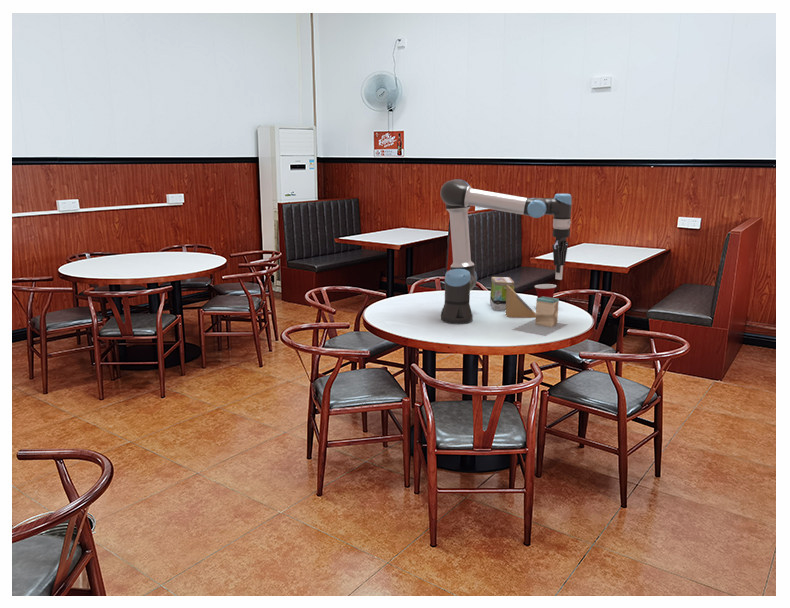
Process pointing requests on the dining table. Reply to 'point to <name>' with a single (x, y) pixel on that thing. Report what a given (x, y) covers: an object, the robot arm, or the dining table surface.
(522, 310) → the sandwich container
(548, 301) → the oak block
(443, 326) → the dining table surface
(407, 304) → the dining table surface
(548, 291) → the plastic cup
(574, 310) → the dining table surface
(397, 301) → the dining table surface
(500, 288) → the tea box
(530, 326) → the grey mat
